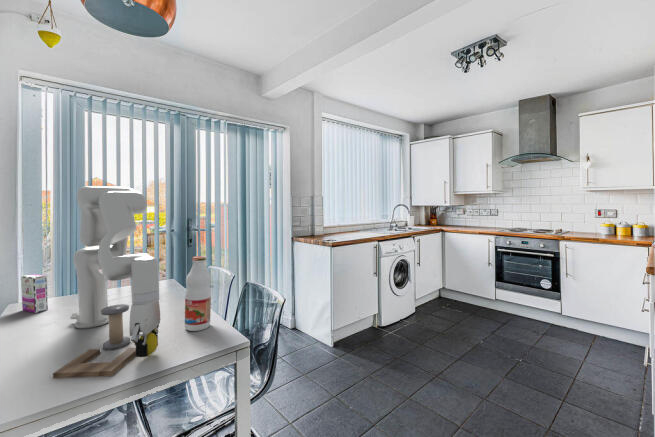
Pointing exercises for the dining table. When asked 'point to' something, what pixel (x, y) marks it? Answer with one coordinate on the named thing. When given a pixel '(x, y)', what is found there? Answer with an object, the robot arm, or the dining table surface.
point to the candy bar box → (34, 293)
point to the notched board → (93, 365)
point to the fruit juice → (198, 296)
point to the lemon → (151, 342)
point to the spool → (115, 327)
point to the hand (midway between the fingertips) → (147, 350)
